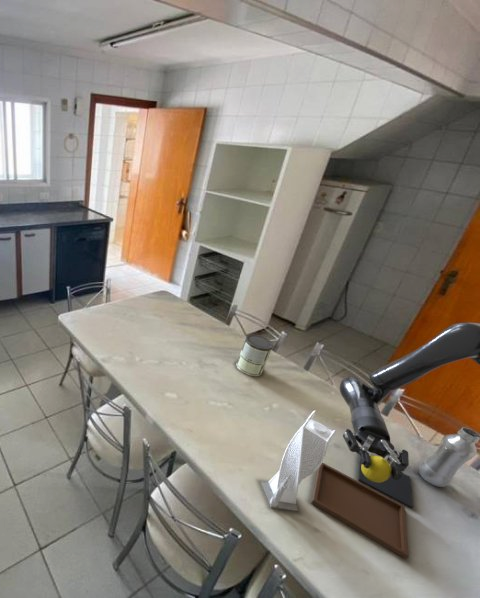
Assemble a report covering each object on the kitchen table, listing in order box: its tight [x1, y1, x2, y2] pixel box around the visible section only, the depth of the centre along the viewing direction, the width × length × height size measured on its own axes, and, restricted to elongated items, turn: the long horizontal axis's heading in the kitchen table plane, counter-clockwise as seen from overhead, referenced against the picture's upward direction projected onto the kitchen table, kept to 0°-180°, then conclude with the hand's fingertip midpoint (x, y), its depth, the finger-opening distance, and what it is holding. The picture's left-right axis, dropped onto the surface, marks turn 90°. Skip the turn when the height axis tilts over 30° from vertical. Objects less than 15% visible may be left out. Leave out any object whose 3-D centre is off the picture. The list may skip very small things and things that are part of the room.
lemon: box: [361, 455, 392, 483], centre depth 85 cm, size 6×6×8 cm
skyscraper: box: [260, 410, 337, 512], centre depth 84 cm, size 8×8×28 cm
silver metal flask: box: [417, 426, 480, 488], centre depth 93 cm, size 6×7×20 cm
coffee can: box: [235, 333, 274, 377], centre depth 136 cm, size 10×10×14 cm
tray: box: [311, 462, 410, 560], centre depth 88 cm, size 20×16×2 cm
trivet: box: [357, 457, 414, 509], centre depth 97 cm, size 12×12×1 cm
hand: (382, 471), depth 82 cm, fingers closed on lemon, 5 cm apart
